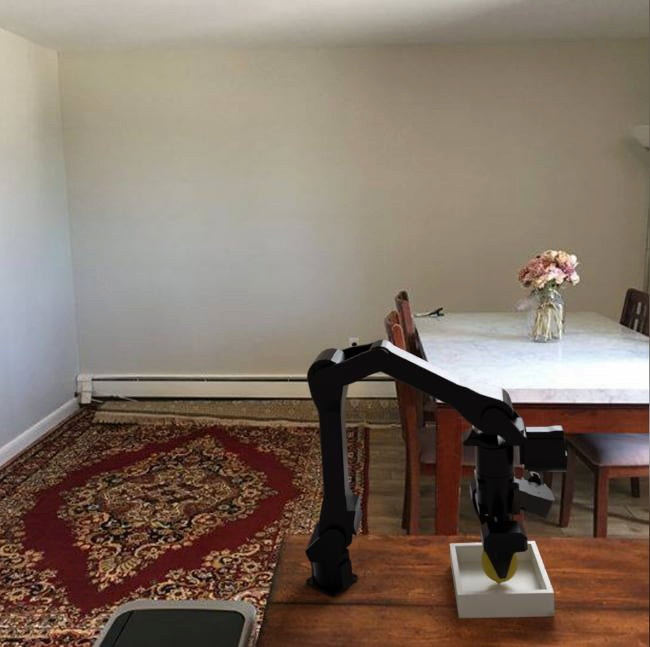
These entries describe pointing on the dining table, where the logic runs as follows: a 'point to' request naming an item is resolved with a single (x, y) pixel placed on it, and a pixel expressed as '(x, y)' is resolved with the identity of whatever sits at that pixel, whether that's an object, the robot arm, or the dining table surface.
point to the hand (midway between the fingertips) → (497, 560)
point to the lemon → (491, 572)
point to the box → (500, 585)
